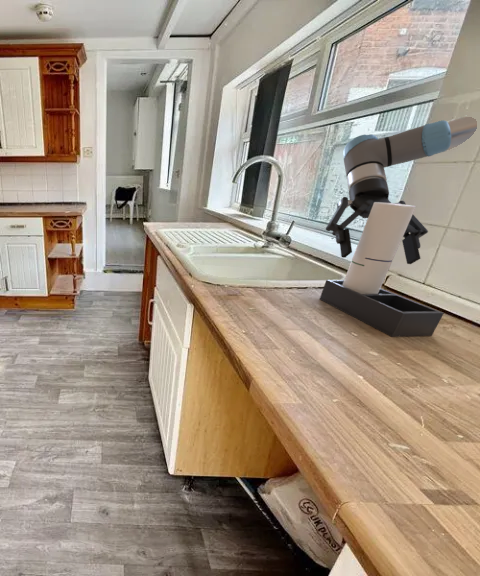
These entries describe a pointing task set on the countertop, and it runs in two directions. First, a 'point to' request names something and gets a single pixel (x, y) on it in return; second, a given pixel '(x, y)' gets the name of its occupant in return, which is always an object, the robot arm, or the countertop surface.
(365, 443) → the countertop surface
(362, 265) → the cylindrical container
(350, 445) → the countertop surface
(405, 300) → the divided tray
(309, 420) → the countertop surface
